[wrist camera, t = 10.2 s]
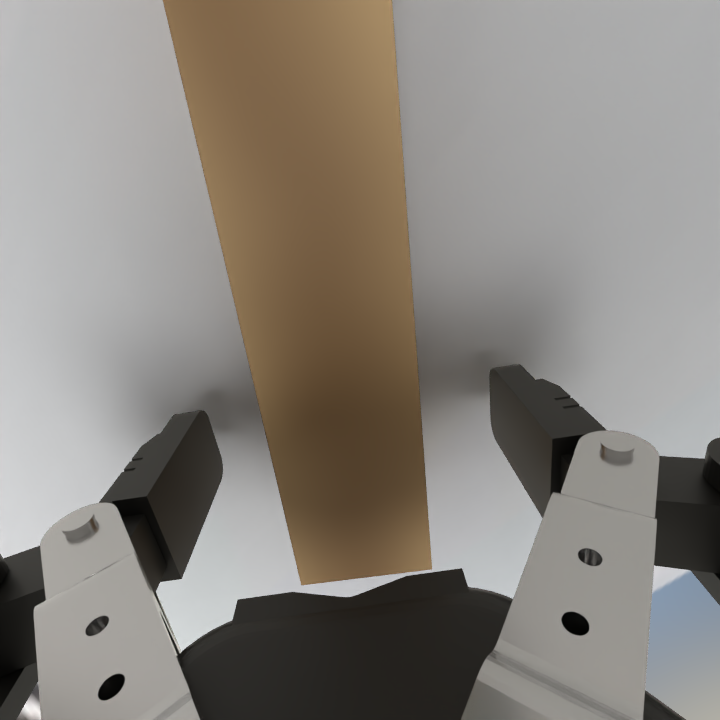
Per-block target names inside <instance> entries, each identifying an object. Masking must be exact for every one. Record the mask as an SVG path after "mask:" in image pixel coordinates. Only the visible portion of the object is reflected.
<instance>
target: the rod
mask: <svg viewBox="0 0 720 720" xmlns="http://www.w3.org/2000/svg"><path fill="white" fill-rule="evenodd" d="M163 3H164V7H165V11H166V15H167V20H168V24H169V28H170V32H171V37H172V41H173V45H174V49H175V53H176V58H177V62H178V66H179V70H180V75H181V79H182V83H183V87H184V91H185V96H186V100H187V104H188V108H189V113H190V117H191V121H192V125H193V129H194V134H195V138H196V142H197V146H198V151H199V155H200V159H201V163H202V167H203V172H204V176H205V180H206V184H207V189H208V193H209V197H210V201H211V205H212V210H213V214H214V218H215V222H216V227H217V231H218V235H219V239H220V244H221V248H222V252H223V256H224V260H225V265H226V269H227V273H228V277H229V282H230V286H231V290H232V294H233V298H234V303H235V307H236V311H237V315H238V320H239V324H240V328H241V332H242V336H243V341H244V345H245V349H246V353H247V358H248V362H249V366H250V370H251V374H252V379H253V383H254V387H255V391H256V396H257V400H258V404H259V408H260V412H261V417H262V421H263V425H264V429H265V434H266V438H267V442H268V446H269V450H270V455H271V459H272V463H273V467H274V472H275V476H276V480H277V484H278V488H279V493H280V497H281V501H282V505H283V510H284V514H285V518H286V522H287V526H288V531H289V535H290V539H291V543H292V548H293V552H294V556H295V560H296V564H297V569H298V573H299V577H300V581H301V585H308V584H316V583H324V582H332V581H340V580H348V579H356V578H365V577H373V576H381V575H389V574H397V573H405V572H413V571H421V570H430V569H432V563H431V548H430V534H429V520H428V506H427V492H426V477H425V463H424V449H423V435H422V421H421V406H420V392H419V378H418V364H417V350H416V335H415V321H414V307H413V293H412V278H411V264H410V250H409V236H408V222H407V207H406V193H405V179H404V165H403V151H402V136H401V122H400V108H399V94H398V80H397V65H396V51H395V37H394V23H393V9H392V0H163Z"/></svg>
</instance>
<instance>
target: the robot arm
mask: <svg viewBox="0 0 720 720" xmlns="http://www.w3.org/2000/svg"><path fill="white" fill-rule="evenodd" d="M489 380H490V415H491V426H492V430H493V434H494V437H495V439H496V441H497V443H498V445H499V446H500V448H501V450H502V451H503V453H504V455H505V456H506V458H507V460H508V461H509V463H510V465H511V466H512V468H513V470H514V471H515V473H516V475H517V476H518V478H519V480H520V481H521V483H522V485H523V486H524V488H525V490H526V491H527V493H528V494H529V496H530V498H531V499H532V501H533V503H534V504H535V506H536V508H537V509H538V511H539V513H540V514H541V516H542V518H543V519H542V522H541V524H540V527H539V530H538V533H537V535H536V538H535V541H534V543H533V546H532V549H531V552H530V554H529V557H528V560H527V563H526V565H525V568H524V571H523V573H522V576H521V579H520V582H519V584H518V587H517V590H516V593H515V595H514V598H513V599H512V598H509V597H507V596H504V595H501V594H498V593H495V592H492V591H488V590H483V589H478V588H471V587H468V586H467V583H466V580H465V577H464V573H463V570H462V568H461V569H454V570H447V571H440V572H433V573H425V574H418V575H411V576H406V577H403V578H400V579H398V580H395V581H393V582H390V583H387V584H385V585H382V586H380V587H377V588H374V589H372V590H369V591H366V592H364V593H361V594H359V595H356V596H353V597H336V596H326V595H316V594H306V593H297V592H289V593H282V594H275V595H268V596H261V597H254V598H246V599H239V600H238V601H237V605H236V609H235V613H234V617H233V621H230V622H228V623H225V624H223V625H221V626H219V627H217V628H215V629H213V630H212V631H210V632H208V633H207V634H205V635H204V636H202V637H200V638H199V639H197V640H196V641H195V642H193V643H192V644H191V645H189V646H188V647H187V648H186V649H184V650H183V651H182V652H181V649H180V647H179V645H178V642H177V640H176V638H175V635H174V633H173V631H172V628H171V626H170V623H169V621H168V619H167V616H166V614H165V612H164V609H163V607H162V604H161V602H160V600H159V598H158V595H157V593H156V590H157V588H158V585H159V583H160V582H163V581H170V580H177V579H182V577H183V574H184V572H185V569H186V567H187V564H188V562H189V559H190V557H191V554H192V552H193V549H194V547H195V544H196V542H197V539H198V537H199V534H200V532H201V529H202V527H203V524H204V522H205V519H206V517H207V514H208V512H209V509H210V507H211V505H212V502H213V500H214V497H215V495H216V492H217V490H218V487H219V485H220V482H221V479H222V474H223V464H222V458H221V455H220V452H219V448H218V445H217V442H216V439H215V436H214V433H213V430H212V427H211V424H210V421H209V418H208V416H207V414H206V412H205V411H202V410H201V411H195V412H188V413H181V414H175V415H174V416H173V417H172V418H171V420H170V421H169V422H168V424H167V425H166V427H165V428H164V429H163V431H162V432H161V434H158V435H156V436H155V437H153V438H152V439H151V440H149V441H148V442H147V443H145V444H144V445H143V446H142V447H141V448H140V449H139V450H138V452H137V453H136V454H135V456H134V457H133V458H132V461H131V462H129V464H128V465H127V466H126V468H125V469H124V472H122V473H121V474H120V476H119V477H118V478H117V480H116V481H115V482H114V484H113V485H112V486H111V487H110V489H109V490H108V491H107V493H106V494H105V495H104V497H103V498H102V499H101V501H100V502H99V503H96V504H92V505H88V506H85V507H82V508H80V509H78V510H76V511H74V512H72V513H70V514H68V515H67V516H65V517H63V518H62V519H60V520H59V521H58V522H56V523H55V524H54V525H53V526H52V527H51V528H50V529H49V530H48V531H47V532H46V533H45V535H44V536H43V538H42V540H41V543H40V546H38V547H35V548H32V549H29V550H27V551H24V552H21V553H18V554H15V555H12V556H9V557H7V558H4V559H3V557H2V556H1V554H0V720H16V719H17V717H18V715H19V714H20V712H21V710H22V708H23V707H24V705H25V703H26V701H27V700H28V698H29V696H30V694H31V693H32V691H33V689H34V687H35V685H36V684H37V682H38V683H39V696H40V710H41V720H686V719H684V718H683V717H682V716H680V715H679V714H677V713H676V712H675V711H673V710H672V709H670V708H669V707H667V706H666V705H665V704H664V703H662V702H661V701H659V700H658V699H657V698H655V697H654V696H652V695H651V694H650V693H648V692H647V691H646V690H645V683H646V669H647V655H648V641H649V626H650V611H651V599H652V585H653V571H654V565H655V566H663V567H670V568H678V569H686V570H691V571H692V573H693V574H694V575H695V576H696V578H697V579H698V580H699V581H700V582H701V583H702V585H703V586H704V587H705V588H706V589H707V591H708V592H709V593H710V594H711V595H712V597H713V598H714V599H715V600H716V601H717V603H718V604H719V605H720V438H717V439H714V440H712V441H711V442H710V443H709V444H708V447H707V451H706V456H705V459H698V458H681V457H666V456H659V454H658V451H657V450H656V449H655V447H654V446H652V445H651V444H650V443H649V442H647V441H646V440H644V439H642V438H640V437H637V436H635V435H631V434H628V433H624V432H618V431H607V430H606V429H605V428H604V427H603V426H602V425H601V424H600V423H599V422H598V421H596V420H595V419H594V418H593V417H592V416H591V415H590V414H589V413H588V412H587V411H586V410H585V409H584V408H582V407H580V406H579V404H578V403H577V402H576V401H575V400H574V399H573V398H570V395H568V394H567V393H566V392H565V391H564V390H563V389H562V388H561V387H560V386H558V385H556V384H553V383H551V382H549V381H547V380H544V379H537V380H535V379H534V378H533V377H532V376H531V375H530V374H529V373H528V372H527V371H526V370H525V369H524V368H523V367H522V366H521V365H519V364H518V365H511V366H504V367H497V368H492V369H491V370H490V376H489Z"/></svg>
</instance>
